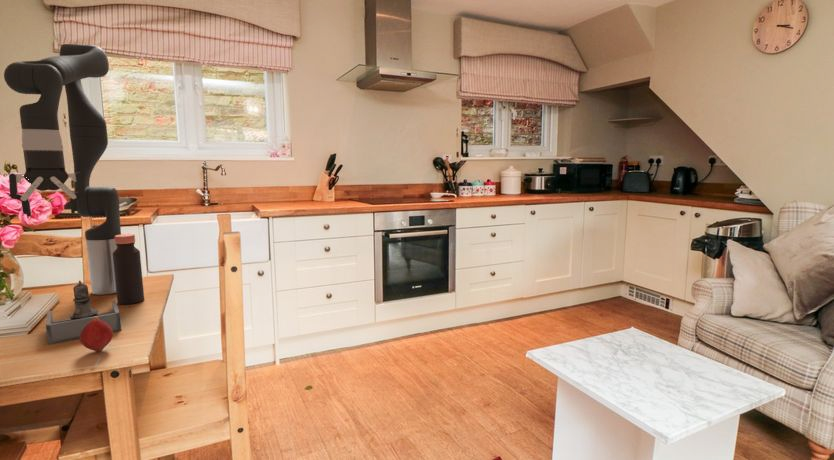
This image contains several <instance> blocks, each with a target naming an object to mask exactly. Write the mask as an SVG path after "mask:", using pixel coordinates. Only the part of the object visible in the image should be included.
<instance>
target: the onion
mask: <svg viewBox="0 0 834 460" xmlns="http://www.w3.org/2000/svg"><path fill="white" fill-rule="evenodd" d="M113 337H114V332H113V331H112V329H111V327H110V326H109V325H108V324H107V323H105V322H103V321H100V320H99V318H98V317H94V318H93V319H92V320H91V321H90V322H89V323H88V324H87V325H86V326H85V327H84V328H83V330H82V331H81V334H80V338H79V340H80V343H81V344H82V346H83V347H84V348H86V349H88V350H90V351H91V350H92V351H95V352H96V353H97V352H102V351H103V350H104V348H106V347H107V346H108V345H109V344H110V343H111V342H112V339H113Z"/></svg>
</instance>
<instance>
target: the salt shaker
mask: <svg viewBox="0 0 834 460" xmlns="http://www.w3.org/2000/svg"><path fill="white" fill-rule="evenodd" d="M72 289H73V296H74V298H73V299H72V301H73V302H74V312H72V313H70V314H69V315H68V317H69V319H71V320H76V319H82V318H88V317H93V316H97V314H99V310H97V309H93V308H92V305H91V298H92V297H91V296H90V294H89V287H88V285H87V284H85V283H82V281H81V280H78V284H76V285H74V286H73V287H72Z"/></svg>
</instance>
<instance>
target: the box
mask: <svg viewBox="0 0 834 460" xmlns="http://www.w3.org/2000/svg"><path fill="white" fill-rule="evenodd" d="M117 304H118V303H117V301H116V300H112V301H111V308H112V309H111V310H112V311H107V312H101V313H97V316H93V317H88V318H82V319H76V320H71V318H65V319H59V320H54V318H53V311H52V310H48V311H47V313H46V322H45V330H46V337H47V344H48V345H53V344H57V343H64V342H68V341H73V340H78V339H79V340H80V334H81V331H82V330H83V328H84V327H85V326H86V325H87V324H88V323H89V322H90V321H91V320H92V319H93V318H94V317H98V318H99V320H100V321H103V322H105V323H107V324H108V325H109V326H110V327H111V329H112V331H113V333H114V332H119V331H122V325H121V324H122V323H121V315H120V310H119V308H118V307H119V306H118V305H117Z"/></svg>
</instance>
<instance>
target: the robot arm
mask: <svg viewBox="0 0 834 460" xmlns="http://www.w3.org/2000/svg"><path fill="white" fill-rule="evenodd" d="M108 59H109V58H108V56H107V54H106V52H105V51H104V49H103V48H101V47H100V46H97V45H93V44H81V43H64V44H61V46H60V49H59V55H55V56H53V55H52V56H50V57H49V56H48V57H45V58H42V59H40V60H27V61H26V60H24V61H15V62H12V63H10V64H9V65H7V66H6V67H5V70H4V73H3V78H4V82H5V84H7V86H8V87H9V88H10V89H11V90H12V91H14V92H15V93H19V94H22V95H39V96H40V97H39V99H38V100H37V101H36V102H33V103H28V104H23V105H20V107H19V119H20V125H21V127H20V128H21V148H22V151H23V159H24V165H25V166H24V167H25V172H24V173H13V172H12V173H10V174H9V175H8V180H9V181H8V182H9V183H8V184H9V185H8V186H9V197H10V199H12V200H13V199H14V200H17V201H18V200H19V201H20V203H21V209H22V213H23V214H24V215H26V216H27V217H32V211H31V203H30V200H29V198H30V197H31V196H32V195H33V193H34V192H35V191H36V190H37V191H40V192H43V191H58V190H61V191H63V193H65V194H66V195H67V196H68V197H69V205H70V213H71V215H73V214H76V212H77V214H78V215H79V216H80V217H82V218H95V217H96V218H97V217H101V218H102V217H105V221H104V222H103V223H101V224H99V225H97V226H94V227H91V228H88V229H86V230H85V232H84V236H85V237H84V238H85V245H86V252H87V253H86V254H87V262H88V269H89V272H88V273H89V279H90V280H89V281H90V289H91V294H92V295H98V296H99V295H101V296H102V295H111V294H117V293H116V283H115V274H114V264H113V252H114V251H115V250H116V249H117V245H116V244H115V236H116V235H121V234H122V229H121V215H120V213H121V211H120V197H119V193H118V192H119V191H118V190H117V189H116V188H115V187H113V186H90V178H91V175H92V172H93V170H94V168H95V166H96V165H97V163H98V161H100V159H101V158H102V156H103V155H104V153H105V151H106V150H107V147H108V145H109V140H108V130H107V129H108V128H107V122H106V120H105V119H104V117H103V115H102V114H101V113H100V111H99V110H98V109H97V108H96V107H95V105H94V104H93V103H92V101H91V100H90V99H89V98H88V96H87V94H86V93H85V90H84V87H83V85H82V81H81V80H83V79H84V80H85V79H87V78H88V79H89V78H93V79H95V78H96V79H97V78H102V77H105V76H106V75H107V74H108V72H109V70H110V68H109V67H110V65H109V60H108ZM63 87H64V90H65V96H66V101H67V102H66V104H67V114H68V128H69V136H70V146H71V152H72V161H73V173H71V172H70V173H67V171H66V164H65V157H64V146H63V141H62V136H61V132H60V126H59V117H58V116H59V115H58V114H59V105H60V100H61V96H62V92H63ZM22 175H24V176H22ZM26 177H27V178H26ZM69 178H71V180H72V181H73V182H74V186H73V187H74V191H72V190H71V189H70V188H69V187H68V186H67V185H66V184H65V183H66V182H67V180H68V179H69ZM23 179H24V180H25V181H27V183H29V184H30V183H31V184H30V186H29V187H28V188H27V189H26V191H24V192H23V194H20V193H19V192H18V184H19V183H21V181H22V180H23ZM28 179H29V180H28Z"/></svg>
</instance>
